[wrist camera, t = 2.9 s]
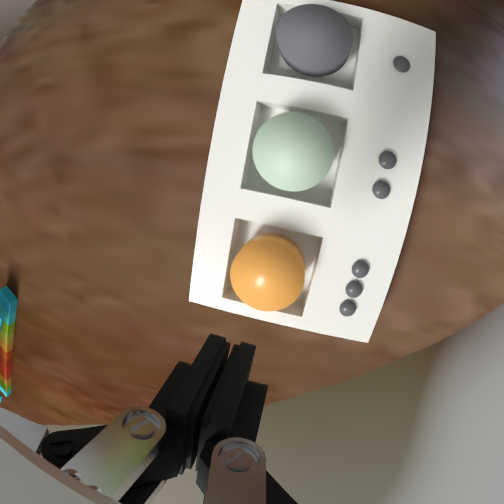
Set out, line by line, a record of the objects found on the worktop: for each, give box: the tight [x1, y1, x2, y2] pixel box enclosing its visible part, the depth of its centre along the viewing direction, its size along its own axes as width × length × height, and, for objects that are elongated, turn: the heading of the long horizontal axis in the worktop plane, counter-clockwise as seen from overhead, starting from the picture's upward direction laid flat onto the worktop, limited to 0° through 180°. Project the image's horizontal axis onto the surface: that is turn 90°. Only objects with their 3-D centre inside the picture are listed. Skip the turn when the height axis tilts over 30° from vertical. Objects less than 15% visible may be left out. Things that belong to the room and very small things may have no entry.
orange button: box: [230, 233, 305, 311], centre depth 21 cm, size 5×5×2 cm
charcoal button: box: [276, 4, 353, 77], centre depth 16 cm, size 5×5×2 cm
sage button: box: [252, 112, 334, 192], centre depth 18 cm, size 5×5×2 cm
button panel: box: [189, 0, 436, 343], centre depth 20 cm, size 24×14×3 cm, turn 170°
